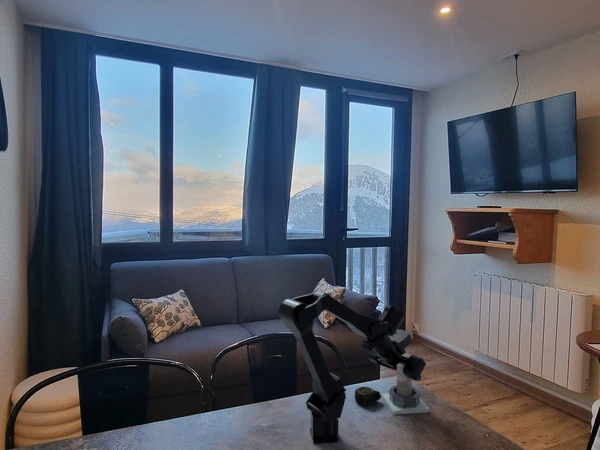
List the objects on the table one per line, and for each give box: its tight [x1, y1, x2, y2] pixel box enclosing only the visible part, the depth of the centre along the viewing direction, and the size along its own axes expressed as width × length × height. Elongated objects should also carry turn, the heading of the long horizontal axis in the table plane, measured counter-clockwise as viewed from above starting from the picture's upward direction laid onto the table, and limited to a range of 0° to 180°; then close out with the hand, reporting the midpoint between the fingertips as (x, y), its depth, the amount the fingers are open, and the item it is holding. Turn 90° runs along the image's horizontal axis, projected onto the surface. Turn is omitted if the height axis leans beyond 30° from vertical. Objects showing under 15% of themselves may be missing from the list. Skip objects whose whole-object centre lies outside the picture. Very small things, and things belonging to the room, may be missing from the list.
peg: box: [396, 353, 413, 397], centre depth 125 cm, size 4×4×14 cm
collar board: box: [380, 392, 430, 415], centre depth 125 cm, size 11×11×1 cm
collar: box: [388, 385, 421, 408], centre depth 125 cm, size 8×8×3 cm
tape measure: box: [354, 386, 382, 407], centre depth 126 cm, size 7×7×4 cm
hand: (407, 374), depth 125 cm, fingers open, 9 cm apart
